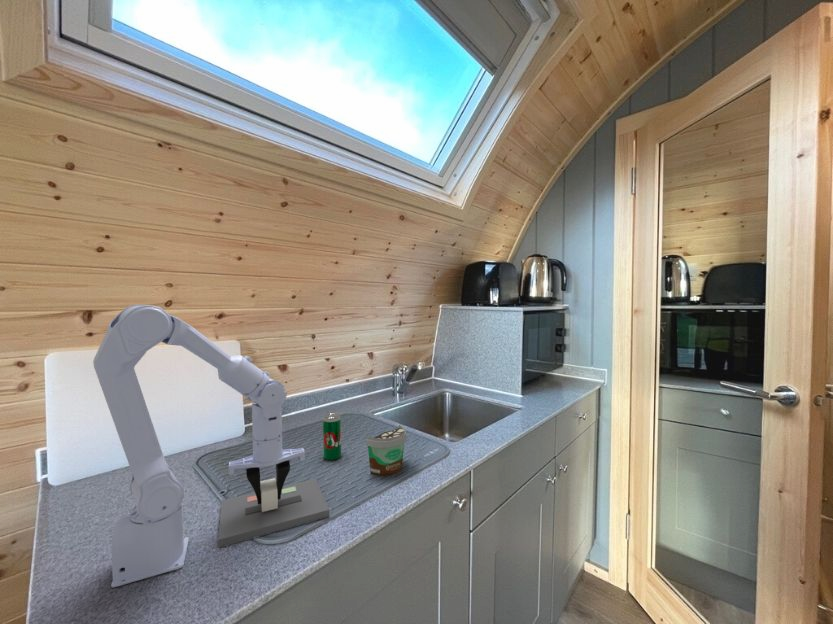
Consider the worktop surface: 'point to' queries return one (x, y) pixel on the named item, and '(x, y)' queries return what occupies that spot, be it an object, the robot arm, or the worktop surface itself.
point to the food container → (386, 452)
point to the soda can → (331, 436)
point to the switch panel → (270, 513)
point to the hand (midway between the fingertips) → (269, 499)
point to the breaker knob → (269, 495)
